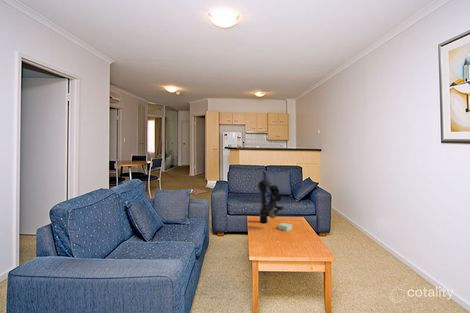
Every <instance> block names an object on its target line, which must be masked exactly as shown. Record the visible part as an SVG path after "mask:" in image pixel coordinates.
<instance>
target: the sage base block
mask: <svg viewBox="0 0 470 313" xmlns="http://www.w3.org/2000/svg"><path fill="white" fill-rule="evenodd" d="M277 229H278V230H281V231H286V232H288V231H291V230H292V229H293V224H290V223H287V222H282V223H279V224H278V225H277Z"/></svg>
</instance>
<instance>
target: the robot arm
mask: <svg viewBox="0 0 470 313" xmlns="http://www.w3.org/2000/svg"><path fill="white" fill-rule="evenodd" d="M257 188H258V191H259V192H260V193H259V194H260V204H261V207H260V209H259V212H258V217H259V223H260V224H267V223H268V217H269V211H271V210H273V209H274V211H275V217H276V218H277V214H278V212H279V211H283V210H285V209H284V206H282V205H278V204H277V202H280V201H281V200H282V196H281V195H280V190H279V187H278V185H276V184H274V183H273V184H272V182H270V181H269V180H268V179H262V180H261V181H259V182H258V183H257ZM267 188H268V191H269V200H268V202H267V199H266V198H267V197H266V190H267Z"/></svg>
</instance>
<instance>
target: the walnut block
mask: <svg viewBox="0 0 470 313" xmlns="http://www.w3.org/2000/svg"><path fill="white" fill-rule="evenodd" d="M274 210H275V209H274ZM274 210H273V209H272V210H271V211H269V216H268V218H270V219H276V218H277V216H276V217H275V211H274Z"/></svg>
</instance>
